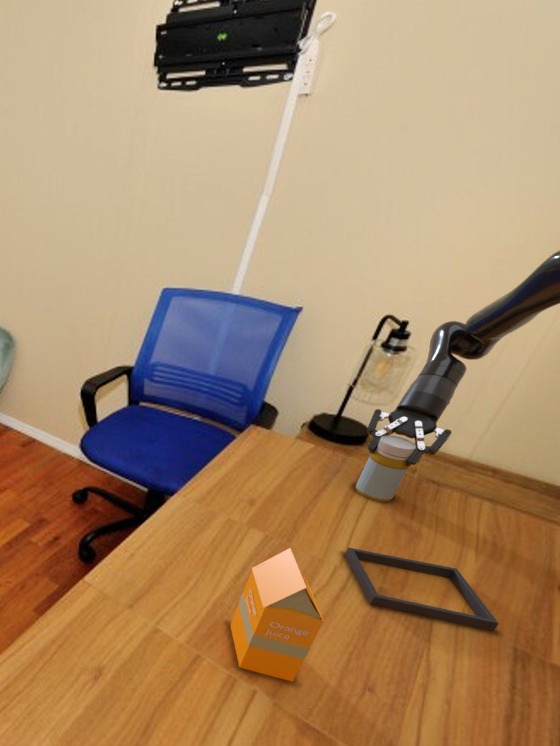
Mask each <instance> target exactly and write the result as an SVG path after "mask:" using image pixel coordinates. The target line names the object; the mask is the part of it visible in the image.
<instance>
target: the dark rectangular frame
mask: <svg viewBox="0 0 560 746" xmlns="http://www.w3.org/2000/svg"><path fill="white" fill-rule="evenodd" d="M344 556H345V558H346V561H347V562H348V564H349V566H350V568H351V570H352V572H353V574H354V576H355V578H356V579H357V581H358V583H359V586H360V588H361V589H362V591H363V594H364V595H365V597H366V598H367V600H368V603H369V604H370V605H372V606H376V607H377V606H378V607H381V608H387V609H390V610H394V611H395V610H396V611H401V612H404V613H409V614H414V615H418V616H422V617H427V618H432V619H434V620H435V619H436V620H441V621H445V622H450V623H453V624H458V625H463V626H468V627H472V628H477V629H481V630H486V631H490V632H494V631H495V629H496V628H497V627H498V625H499V621H498V620H497V619H496V618H495V617H494V615H493V614H492V612H491V611H490V610H489V608H488V607H487V606H486V604H485V603H484V602H483V601H482V599H481V598H480V597H479V595H478V594H477V593H476V591H474V589H473V588H472V586H471V585H470V584H469V582H467V580H466V579H465V577H464V576H463V575H462V573H461V572H460V571H459V569H458V568H456V567H452V566H451V567H450V566H445V565H440V564H435V563H430V562H424V561H419V560H415V559H409V558H404V557H399V556H395V555H390V554H384V553H380V552H379V553H378V552H373V551H368V550H364V549H358V548H353V547H347V549H346V551H345V553H344ZM361 561H364V562H368V563H372V564H373V563H374V564H378V565H384V566H388V567H393V568H398V569H403V570H408V571H413V572H417V573H424V574H428V575H433V576H439V577H443V578H449V580H450V581H451V582H452V584H453V586H454V587H455V588H456V589H457V591H458V592H459V593H460V595H461V596H462V597H463V599H464V600H465V601H466V603H467V605H468V606H469V607H470V608H471V610H472V611H473V612H474V614H469V613H465V612H460V611H456V610H451V609H447V608H441V607H437V606H433V605H428V604H423V603H420V602H419V603H418V602H415V601H409V600H404V599H400V598H395V597H390V596H386V595H381V594H378V592H377V590H376V588H375V587H374V584H373V583H372V581H371V579H370V578H369V576H368V573H367V572H366V570H365V568H364V566H363V564H362V563H361Z"/></svg>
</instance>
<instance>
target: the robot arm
mask: <svg viewBox="0 0 560 746" xmlns="http://www.w3.org/2000/svg"><path fill="white" fill-rule="evenodd" d="M557 305H560V249H559V250H557V251H555V252H554V253H552V254H551V255H549V256H548V257H547V258H546V259H545V260H544V261H543V262H542V263H541V264H539V266H537V267H536V268H535V269H534V270H533V271H532V272H531V273H530V274H529V275H528V276H527V277H526V278H525V279H524V280H523V281H522V282H520V283H519V284H518V285H517V286H516V287H514V288H512V290H510V291H509V292H507V293H506V294H504V295H503V296H500V297H499V298H497V299H496V300H493V301H492V302H490V303H489V304H487V305H486V306H484V307H483V308H481V309H479V310H478V311H476V312H475V313H473V314H472V315H471V316H469V317H468V318H467V320H466V322H465V323H464V322H461V321H457V320H450V321H447V322H444V323H442V324H440V325H439V326H437V327H436V329H435V330H434V331H433V332H432V334H431V337H430V340H429V345H428V352H427V356H426V361H425V363H424V365H423V367H422V368H421V370H420V372H419V373H418V375H417V376H416V378H415V379H414V380H413V381H412V383H411V384H410V385H409V387H408V388H407V390H406V392H405V393H404V395H403V396H402V398H401V399H400V401H399V403H398V404H397V406H396V408H395V409H394V410H393V411H391V412H385V411H382V410H381V409H380V408H377V409H375V410H374V412H373V414H372V416H371V419H370V421H369V424H368V426H367V429H366V434H367V435H369V436H371V437H372V439H371V440H370V442H369V443H368V444H367V450H368V452H369V453H370V454H371V453H372V454H373V452H374V451H375V450H376V447H377V446H378V443H379V441H380V439H381V437H382V436H392V435H393V434H396V435H399V436H405V437H406V438H408V439H412V440H413V439H414V444H415V446H416V447H415V450H414V451H413V453H412V454H411V456H410V458H409V459H408V461H407V463H406V465H407V466H409V467H411V466H416V465H417V463H418V461H419V460H420V459H421V457H422V455H424V454H427V455H428V454H429V455H430V456H434V455H435V454H437V452H438V451H439V450H440V449H442V447H443V446H444V445H445V443H446V442H448V440H449V438H450V437H451V436H452V430H451V429H443V428H440V427H438V425H437V423H438V421H439V420H440V418H441V416H442V415H443V414H444V412H445V410H446V408H447V407H448V406H449V404H450V403H451V400H452V399H453V397H454V394H455V392H456V390H457V388H458V387H459V384H460V383H461V381H462V379H463V378H464V377H465V375H466V372H467V370H468V368H467V365H466V364H465V363H464V362H462V361H461V360H460V359H463V360H465V361H477V360H478V361H479V360H481V359H483V358H485V357H486V356H487V355H489V353H490V352H491V351H493V349H494V347H495V346H496V344H497V343H498V342H499V341H501V340H502V339H503V338H504V337H506V336H507V335H509V334H511V333H513V332H515V331H517V330H518V329H520V328H522V327H523V326H525V325H527V324H529V323H530V322H531V321H533V319H535V318H537V316H539V314H541V313H542V312H544V311H546V310H549V309H551V308H552V307H555V306H557ZM458 358H460V359H458ZM385 419H387V420H388V422H389V424H387V425H385V426H384V427H383V428H381V429H379V430H377V426H378V424H379V422H383V421H384V420H385ZM432 433H434V434H435V438H436V439H435V440H434V442H433V443H432V444H431V445H429V446H428V445H426V444H425V443H426V442H425V436H426V435H429V434H432Z"/></svg>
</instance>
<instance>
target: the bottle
mask: <svg viewBox="0 0 560 746" xmlns="http://www.w3.org/2000/svg"><path fill="white" fill-rule="evenodd" d="M415 449H416V444H415V442H412V441H411V440H408V439H406V438H404V437H401V436H400V437H399V436H395V435H389V436H382V437H381V439H380V441H379V443H378V446H377V447H376V450H375V451H374V452H373V454H372V453H370V455H369V456H368V459H367V460H366V464H365V465H364V467H363V469H362V471H361V474H360V476H359V478H358V480H357V482H356V485H355V490H356V491H357V493H359V494H360V495H361V496H363V497H365V498H367V499H371V500H373V501H378V502H384V503H385V502H390V501H392V499H393V498H394V496H395V494H396V493H397V491H398V488H399V486H400V484H401V483H402V480H403V479H404V477H405V475H406V473H407V471H408V469H409V468H410V466H407V465H406V463H407V461H408V459H409V458H410V456H411V454H412V453H413V451H414V450H415Z"/></svg>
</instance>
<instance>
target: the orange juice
mask: <svg viewBox="0 0 560 746" xmlns="http://www.w3.org/2000/svg"><path fill="white" fill-rule="evenodd" d="M324 622H325V620H324V619H323V616H322V613H321V611H320V609H319V606H318V604H317V601H316V599H315V597H314V594H313V591H312V590H311V587H310V585H309V582H308V580H307V578H305V575H304V574H303V572H302V570H301V568H300V566H299V563H298V562H297V561H296V559H295V556H294V553H293V551H292V547H289V548H287V549H285V550H284V551H281V552H279V553H278V554H276V555H274V556H272V557H269V558H268V559H266V560H264V561H263V562H261V563H259V564H257V565H255V566H253V567H251V572H250V574H249V577H248V579H247V582H246V585H245V587H244V590H243V592H242V594H241V596H240V599H239V601H238V605H237V607H236V610H235V613H234V615H233V618H232V620H231V622H230V630H231V635H232V640H233V644H234V648H235V653H236V654H235V655H236V658H237V662H238V667H239V669H243V670H248V671H251V672H255V673H258V674H261V675H267V676H269V677H274V678H277V679H281V680H285V681H288V682H294V681H295V678H296V677H297V674H298V673H299V670H300V668H301V666H302V664H303V662H304V661H305V659H306V658H307V656H308V654H309V652H310V650H311V647H312V645H313V643H314V641H315V639H316V637H317V636H318V634H319V631H320V630H321V628H322V626H323V624H324Z"/></svg>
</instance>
